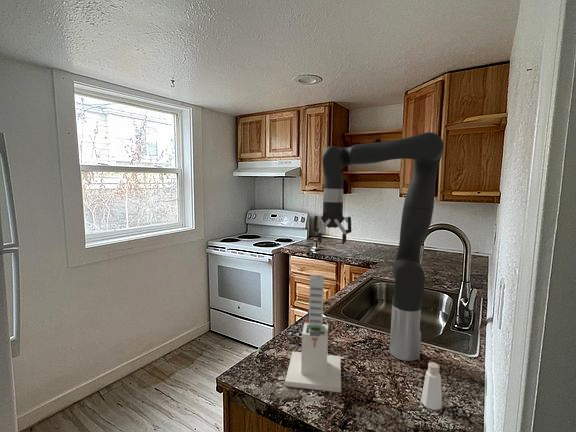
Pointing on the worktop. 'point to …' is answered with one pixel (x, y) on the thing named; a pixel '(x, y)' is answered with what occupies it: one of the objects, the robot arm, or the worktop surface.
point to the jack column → (316, 302)
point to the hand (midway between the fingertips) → (331, 243)
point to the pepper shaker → (432, 388)
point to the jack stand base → (314, 363)
